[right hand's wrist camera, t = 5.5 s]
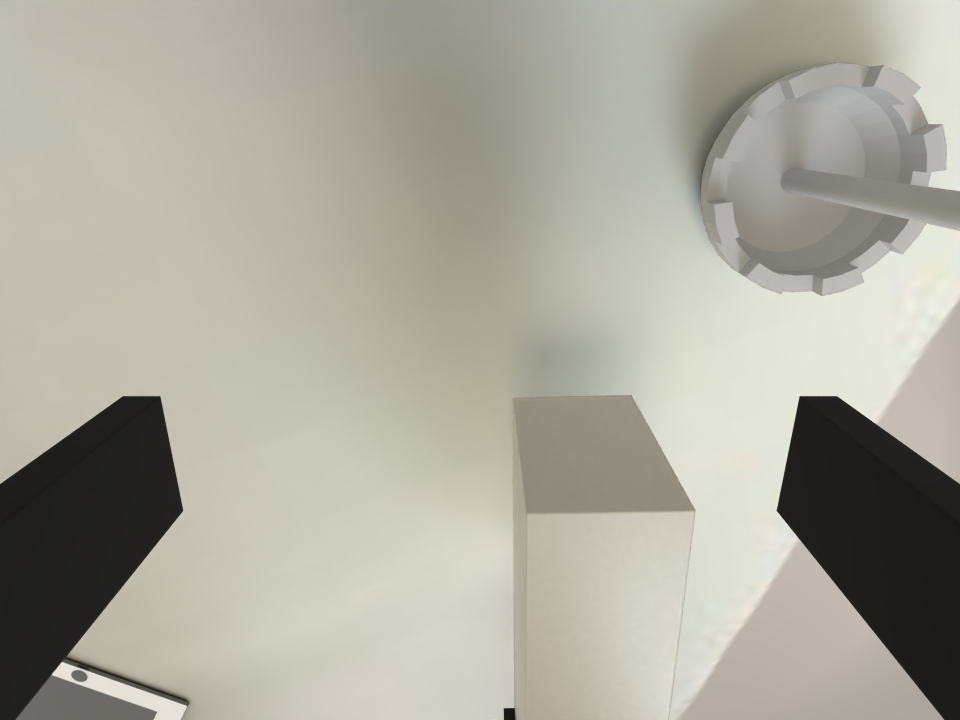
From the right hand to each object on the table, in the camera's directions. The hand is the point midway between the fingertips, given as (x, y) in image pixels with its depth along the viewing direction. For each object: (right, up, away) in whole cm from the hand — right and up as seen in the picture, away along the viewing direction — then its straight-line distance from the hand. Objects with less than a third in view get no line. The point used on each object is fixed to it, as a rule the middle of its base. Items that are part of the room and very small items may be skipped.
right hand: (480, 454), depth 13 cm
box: (+5, -12, +25) cm, 29 cm away
